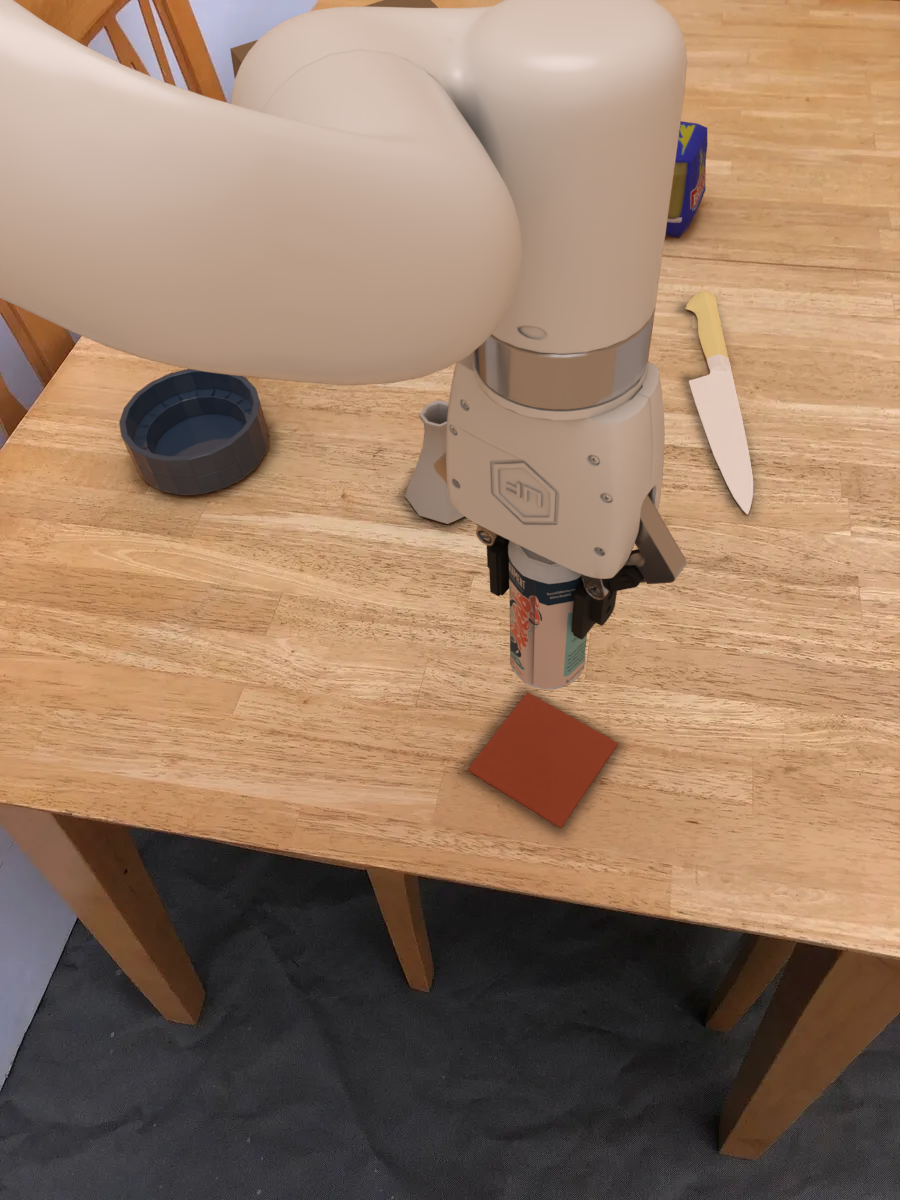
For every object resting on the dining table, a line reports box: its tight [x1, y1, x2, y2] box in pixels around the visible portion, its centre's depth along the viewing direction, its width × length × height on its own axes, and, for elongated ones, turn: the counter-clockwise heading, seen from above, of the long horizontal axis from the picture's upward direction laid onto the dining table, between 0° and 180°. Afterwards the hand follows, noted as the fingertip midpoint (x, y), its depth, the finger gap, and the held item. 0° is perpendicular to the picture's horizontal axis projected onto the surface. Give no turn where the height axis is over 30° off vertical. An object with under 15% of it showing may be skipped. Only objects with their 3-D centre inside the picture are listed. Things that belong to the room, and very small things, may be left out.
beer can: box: [508, 541, 588, 691], centre depth 54 cm, size 5×5×12 cm
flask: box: [404, 399, 466, 525], centre depth 82 cm, size 7×7×10 cm
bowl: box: [118, 368, 271, 496], centre depth 90 cm, size 13×13×5 cm
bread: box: [665, 120, 708, 238], centre depth 110 cm, size 10×25×10 cm, turn 68°
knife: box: [684, 290, 754, 516], centre depth 92 cm, size 1×33×4 cm
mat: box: [467, 691, 618, 829], centre depth 68 cm, size 8×8×1 cm
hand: (549, 597), depth 53 cm, fingers closed on beer can, 4 cm apart
